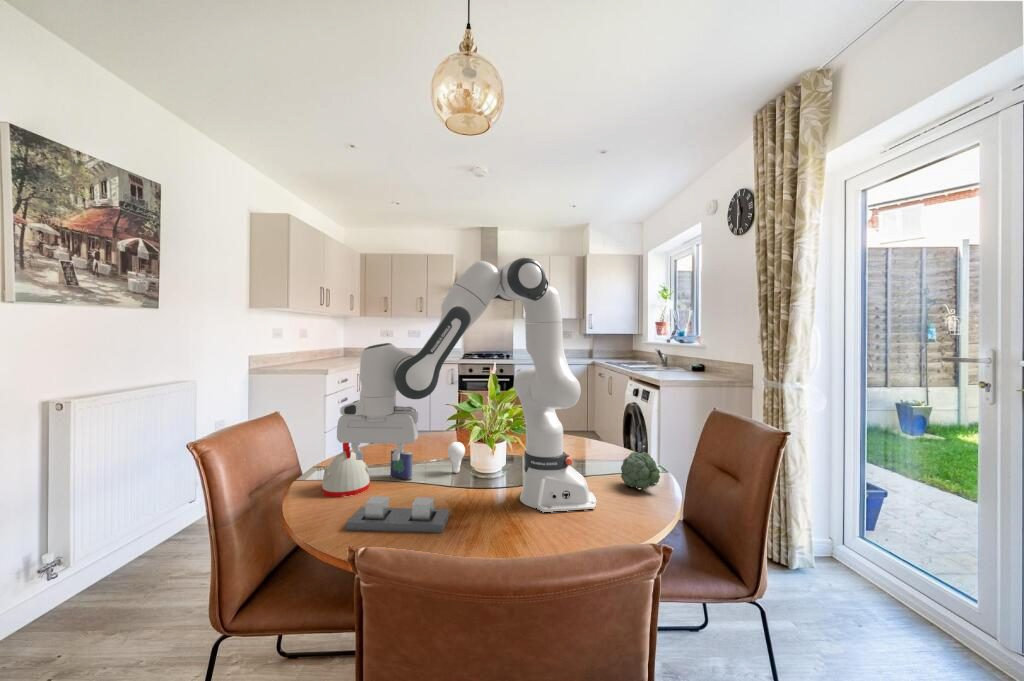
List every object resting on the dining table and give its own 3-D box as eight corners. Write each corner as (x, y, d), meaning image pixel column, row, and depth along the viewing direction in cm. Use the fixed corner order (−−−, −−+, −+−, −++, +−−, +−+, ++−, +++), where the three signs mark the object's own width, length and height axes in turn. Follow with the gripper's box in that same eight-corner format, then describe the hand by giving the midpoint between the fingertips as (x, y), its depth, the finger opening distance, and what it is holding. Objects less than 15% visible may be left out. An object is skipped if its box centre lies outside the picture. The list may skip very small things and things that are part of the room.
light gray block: (433, 520, 105) (433, 497, 105) (429, 528, 101) (429, 504, 101) (416, 520, 106) (416, 497, 106) (411, 528, 101) (411, 504, 101)
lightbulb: (457, 477, 138) (457, 445, 138) (443, 473, 142) (444, 442, 142) (468, 472, 144) (468, 441, 144) (455, 469, 147) (455, 439, 147)
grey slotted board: (449, 516, 108) (449, 509, 108) (442, 532, 99) (442, 524, 99) (360, 514, 108) (360, 507, 108) (346, 530, 99) (346, 522, 99)
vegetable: (678, 483, 129) (653, 470, 121) (647, 505, 133) (621, 494, 125) (659, 453, 138) (635, 439, 130) (631, 474, 142) (606, 462, 135)
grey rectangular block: (388, 519, 106) (388, 496, 106) (382, 527, 101) (382, 503, 101) (371, 518, 106) (372, 496, 106) (364, 526, 101) (365, 503, 101)
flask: (413, 478, 136) (414, 447, 136) (407, 481, 134) (408, 449, 134) (394, 474, 141) (394, 443, 141) (387, 476, 138) (388, 445, 138)
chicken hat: (363, 478, 136) (364, 434, 136) (374, 491, 125) (375, 443, 125) (318, 486, 129) (319, 439, 128) (325, 501, 117) (326, 449, 117)
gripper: (421, 404, 106) (421, 456, 106) (344, 403, 107) (344, 455, 107) (414, 408, 100) (414, 464, 100) (333, 408, 101) (333, 463, 101)
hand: (377, 459), depth 104 cm, fingers open, 8 cm apart
